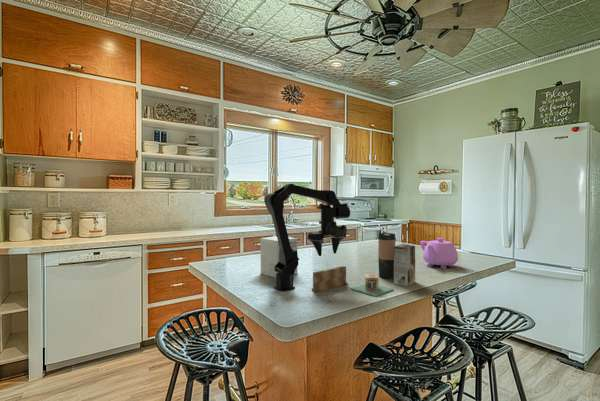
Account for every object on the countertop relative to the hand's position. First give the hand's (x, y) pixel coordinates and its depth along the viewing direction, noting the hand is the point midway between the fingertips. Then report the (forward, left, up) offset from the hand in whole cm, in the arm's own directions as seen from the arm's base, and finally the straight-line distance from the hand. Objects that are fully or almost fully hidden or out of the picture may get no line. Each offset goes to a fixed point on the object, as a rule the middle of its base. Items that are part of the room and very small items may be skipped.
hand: (327, 254), depth 139 cm
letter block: (+5, -20, -11) cm, 24 cm away
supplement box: (-7, +26, -12) cm, 30 cm away
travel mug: (+27, -12, -12) cm, 32 cm away
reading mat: (+5, -20, -12) cm, 24 cm away
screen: (-5, -6, -12) cm, 15 cm away
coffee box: (+24, -23, -12) cm, 35 cm away
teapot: (+66, -16, -12) cm, 69 cm away
